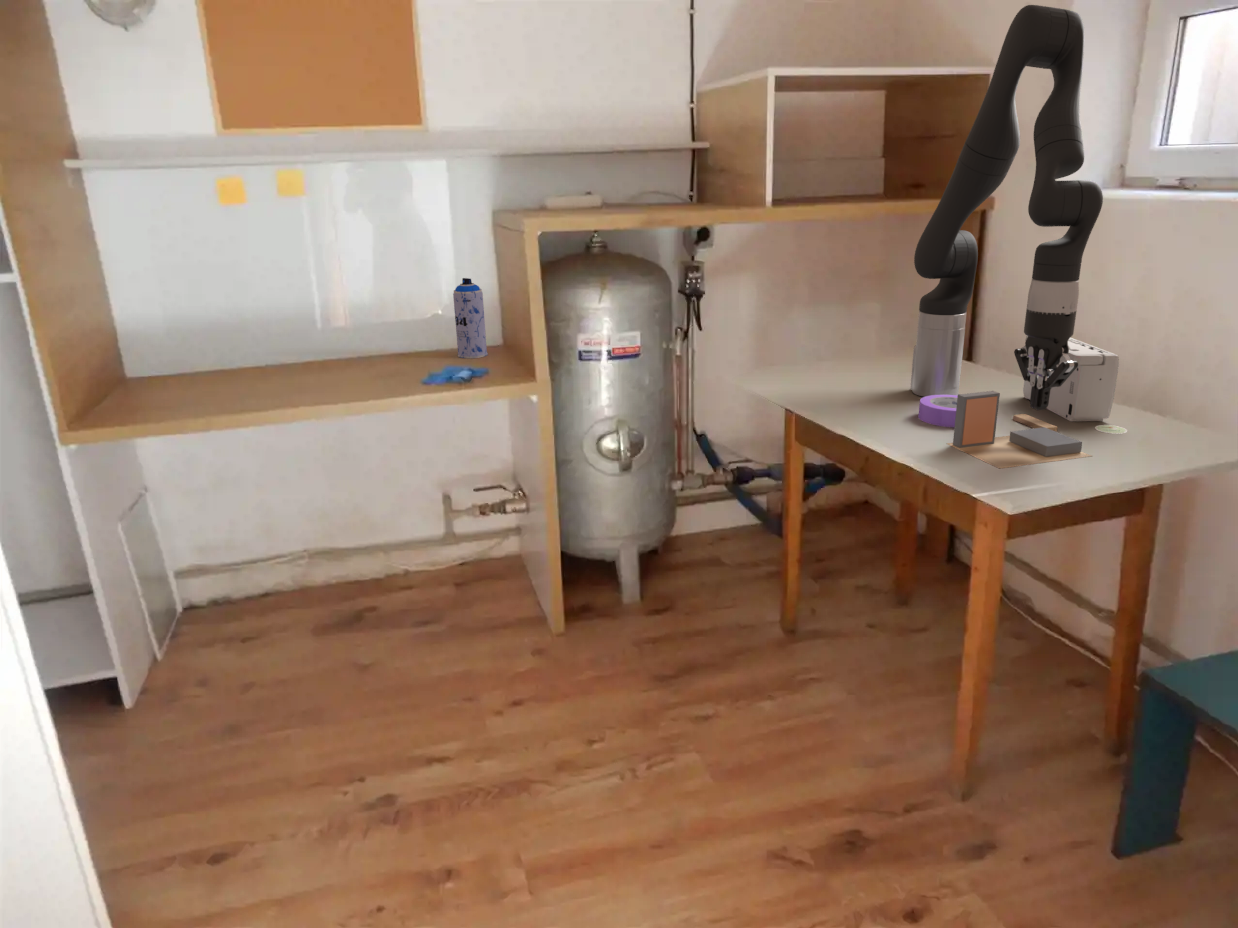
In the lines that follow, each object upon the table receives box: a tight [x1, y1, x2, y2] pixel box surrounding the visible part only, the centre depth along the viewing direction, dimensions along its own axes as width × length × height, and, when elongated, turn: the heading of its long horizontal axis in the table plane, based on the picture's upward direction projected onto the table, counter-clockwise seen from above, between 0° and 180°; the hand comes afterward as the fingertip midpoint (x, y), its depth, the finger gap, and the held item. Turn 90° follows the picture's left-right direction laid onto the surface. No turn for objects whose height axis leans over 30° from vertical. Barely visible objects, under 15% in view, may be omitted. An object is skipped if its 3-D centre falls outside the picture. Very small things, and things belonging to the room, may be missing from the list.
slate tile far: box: [1009, 427, 1083, 457], centre depth 155 cm, size 2×7×9 cm
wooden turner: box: [1012, 413, 1059, 432], centre depth 165 cm, size 14×4×2 cm, turn 14°
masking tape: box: [917, 395, 958, 428], centre depth 173 cm, size 12×12×4 cm
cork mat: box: [946, 435, 1092, 470], centre depth 155 cm, size 14×18×1 cm
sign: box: [1094, 424, 1128, 435], centre depth 160 cm, size 5×1×15 cm
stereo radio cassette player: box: [1022, 335, 1120, 422], centre depth 175 cm, size 21×8×20 cm, turn 3°
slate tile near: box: [952, 390, 1001, 448], centre depth 156 cm, size 2×7×9 cm, turn 106°
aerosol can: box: [452, 277, 489, 359], centre depth 236 cm, size 8×8×20 cm
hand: (1038, 408), depth 156 cm, fingers closed
